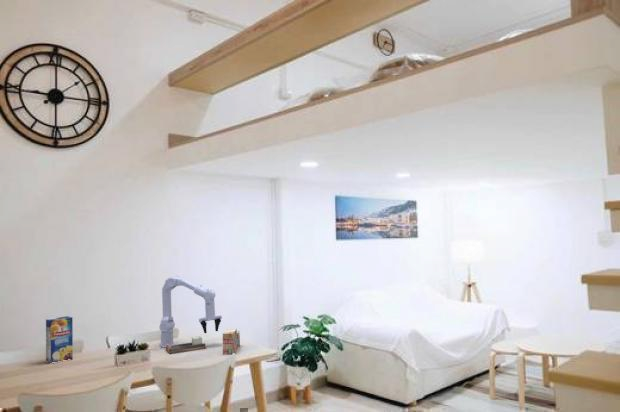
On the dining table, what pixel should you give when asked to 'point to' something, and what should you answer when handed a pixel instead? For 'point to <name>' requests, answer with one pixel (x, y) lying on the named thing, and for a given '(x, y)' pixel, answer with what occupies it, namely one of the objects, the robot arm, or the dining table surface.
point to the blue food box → (59, 339)
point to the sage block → (196, 340)
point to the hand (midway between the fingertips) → (211, 332)
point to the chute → (184, 348)
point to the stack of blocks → (230, 341)
